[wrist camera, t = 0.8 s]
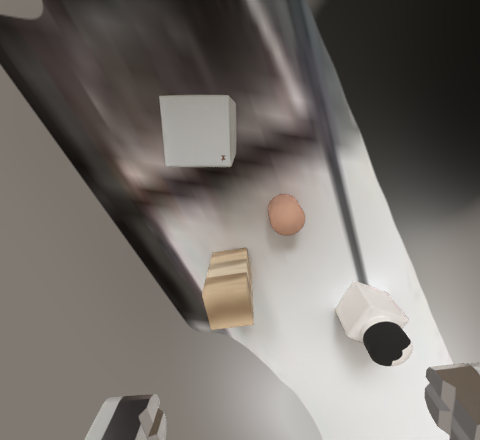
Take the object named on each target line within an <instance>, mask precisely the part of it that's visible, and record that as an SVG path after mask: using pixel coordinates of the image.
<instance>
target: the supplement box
mask: <svg viewBox="0 0 480 440" xmlns="http://www.w3.org/2000/svg"><path fill="white" fill-rule="evenodd" d="M159 100H160V109H161V119H162V132H163V145H164V158H165V166H166V167H231V166H232V163H233V161H234V158H235V155H236V103H235V102H234V101H233V100H232V99H231V98H230V97H229V95H169V96H159Z"/></svg>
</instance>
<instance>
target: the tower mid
mask: <svg viewBox="0 0 480 440" xmlns="http://www.w3.org/2000/svg"><path fill="white" fill-rule="evenodd" d="M245 272H247V277H248V282H249V288H250V293H251V298H252V303H253V293H252V285H251V280H250V275H249V269H248V264H247V259H241V260H233V261H226V262H219V263H212V264H210V265H209V268H208V272H207V276H206V278H209V277H216V276H223V275H230V274H237V273H245Z"/></svg>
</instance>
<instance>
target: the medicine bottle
mask: <svg viewBox="0 0 480 440" xmlns="http://www.w3.org/2000/svg"><path fill="white" fill-rule="evenodd" d="M335 311H336V313H337V315H338V317H339V320H340V322H341V324H342V326H343V328H344V331H345V333H346V335H347V337H348V338H350V339H353V340H356V341H359V342H361V343H364V345H365V347H366V349H367V351H368V353H369V355H370V357H371V358H372V360H373V361H374V362H376V363H378V364H380V365H383V366H395V365H398V364H401V363H403V362H404V361H406V360H407V359H408V358H409V356H410V355H411V352H412V348H413V346H412V342H411V341H410V339H409V338H408V337H407V335H406V334H405V332H404V331H403V330H402V328H403V327H404V326H405V324H406V323H407V322H408V318H407V316H406V315H405V314H404V313H403V312H402V310H401V309H400V308H399V307H398V305H397V304H396V303H395V302H394V300H393V299H392V298H391V297H390V295H389V294H388V293H386V292H384V291H381V290H379V289H376V288H373V287H371V286H368V285H366V284H363V283H361V282H358V281H353V283H352V284H351V286H350V287H349V289H348V290H347V292H346V293H345V295H344V296H343V298H342V299H341V301H340V302H339V304H338V305H337V307H336V308H335Z"/></svg>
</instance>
